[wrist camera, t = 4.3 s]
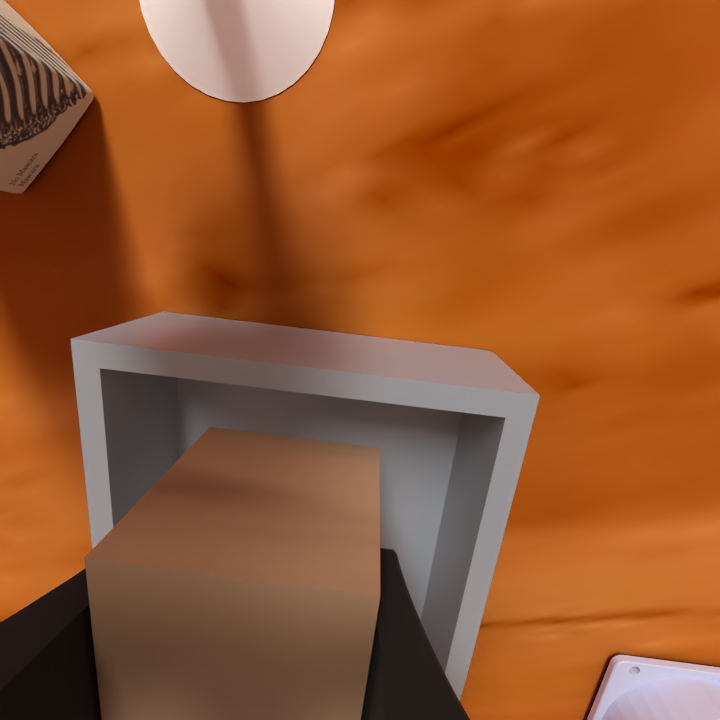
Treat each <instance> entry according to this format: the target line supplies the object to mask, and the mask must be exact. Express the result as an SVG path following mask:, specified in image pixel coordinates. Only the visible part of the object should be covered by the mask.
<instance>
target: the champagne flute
mask: <svg viewBox="0 0 720 720" xmlns="http://www.w3.org/2000/svg"><path fill="white" fill-rule="evenodd" d="M140 5H141V10H142V14H143V17H144V20H145V22H146V25H147V28H148V30H149V33H150V35H151V37H152V39H153V41H154V43H155V44H156V46H157V48H158V50H159V51H160V53H161V55H162V56H163V57H164V59H165V60H166V61H167V62H168V64H169V65H170V66H171V67H172V69H173V70H174V71H175V72H176V73H177V74H178V75H179V76H181V77H182V78H183V79H184V80H185V81H186V82H188V83H189V84H190V85H191V86H193V87H195V88H196V89H198V90H200V91H202V92H203V93H205V94H207V95H209V96H212V97H215V98H218V99H221V100H225V101H233V102H243V103H244V102H251V101H259V100H263V99H266V98H269V97H271V96H274V95H277V94H279V93H280V92H282V91H283V90H285V89H287V88H288V87H290V86H291V85H293V84H294V83H295V82H296V81H297V80H298V79H299V78H300V77H301V76H302V75H303V74H304V73H305V72H306V71H307V70H308V69H309V67H310V66H311V64H312V63H313V61H314V60H315V58H316V57H317V55H318V54H319V52H320V50H321V48H322V45H323V43H324V41H325V38H326V36H327V34H328V31H329V27H330V23H331V18H332V14H333V10H334V0H140Z"/></svg>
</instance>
